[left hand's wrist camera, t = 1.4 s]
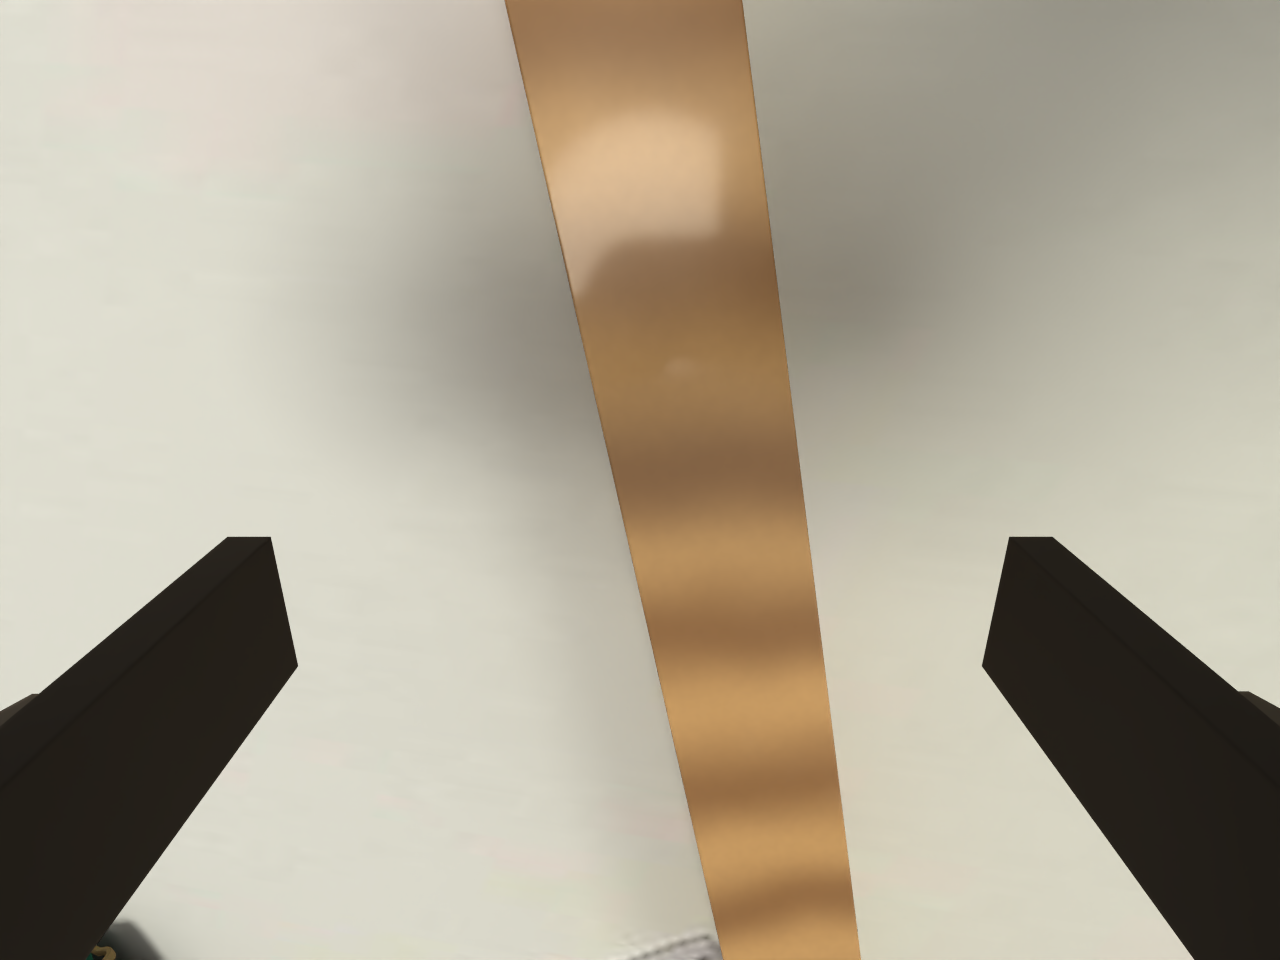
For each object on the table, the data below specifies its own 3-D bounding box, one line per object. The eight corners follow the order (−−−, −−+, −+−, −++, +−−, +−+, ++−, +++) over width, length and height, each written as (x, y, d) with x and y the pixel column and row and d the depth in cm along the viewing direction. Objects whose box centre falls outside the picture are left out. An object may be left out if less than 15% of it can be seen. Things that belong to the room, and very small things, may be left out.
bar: (525, -25, 22) (476, -119, 16) (695, -66, 22) (720, -180, 15) (801, 1250, 50) (826, 1413, 43) (878, 1242, 50) (916, 1405, 43)
